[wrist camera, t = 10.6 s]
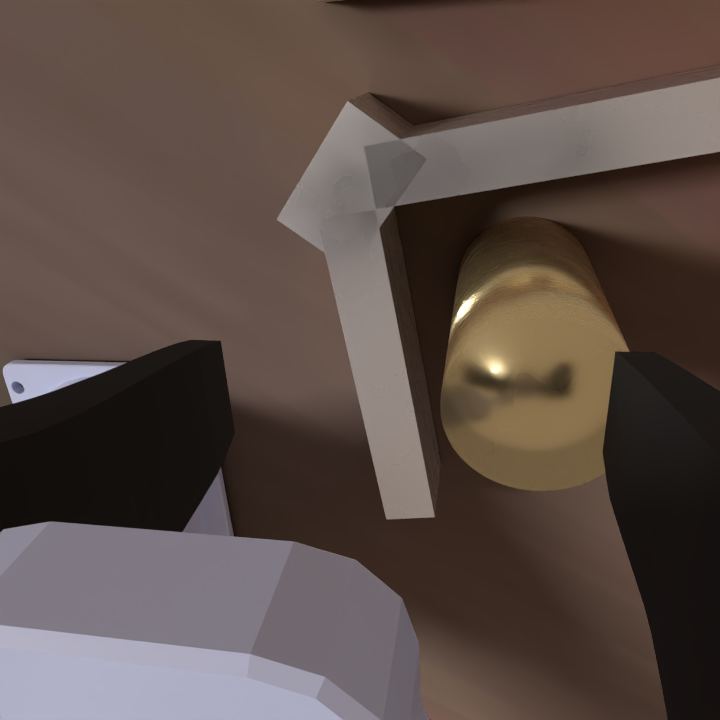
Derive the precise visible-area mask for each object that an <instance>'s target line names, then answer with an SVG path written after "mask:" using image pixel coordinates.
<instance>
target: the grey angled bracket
mask: <svg viewBox="0 0 720 720" xmlns="http://www.w3.org/2000/svg"><path fill="white" fill-rule="evenodd" d="M715 152H720V65H717V66H712V67H707V68H702V69H697V70H692V71H687V72H682V73H677V74H672V75H666V76H661V77H656V78H651V79H646V80H641V81H636V82H631V83H626V84H621V85H616V86H611V87H606V88H601V89H595V90H590V91H585V92H580V93H575V94H570V95H565V96H560V97H555V98H550V99H545V100H540V101H535V102H529V103H524V104H519V105H514V106H509V107H504V108H499V109H494V110H489V111H484V112H479V113H474V114H469V115H464V116H458V117H453V118H448V119H443V120H438V121H433V122H428V123H423V124H418V125H412V124H410V123H409V122H408V121H406V120H405V119H404V118H402V117H401V116H400V115H398V114H397V113H395V112H394V111H393V110H391V109H390V108H389V107H387V106H386V105H385V104H383V103H382V102H380V101H379V100H378V99H376V98H375V97H374V96H372V95H371V94H370V93H366V94H363V95H361V96H358V97H356V98H354V99H351V100H349V101H347V103H346V104H345V106H344V108H343V109H342V111H341V113H340V114H339V116H338V118H337V119H336V121H335V123H334V125H333V126H332V128H331V130H330V131H329V133H328V135H327V136H326V138H325V140H324V141H323V143H322V145H321V146H320V148H319V150H318V151H317V153H316V155H315V156H314V158H313V160H312V161H311V163H310V165H309V166H308V168H307V170H306V171H305V173H304V175H303V176H302V178H301V180H300V181H299V183H298V185H297V186H296V188H295V190H294V191H293V193H292V195H291V196H290V198H289V200H288V201H287V203H286V205H285V206H284V208H283V210H282V211H281V213H280V215H279V216H278V218H277V220H278V221H280V222H281V223H282V224H284V225H285V226H287V227H288V228H290V229H291V230H292V231H294V232H295V233H297V234H298V235H300V236H301V237H303V238H304V239H305V240H307V241H308V242H310V243H311V244H313V245H314V246H315V247H317V248H318V249H320V250H321V251H323V252H324V253H325V255H326V259H327V264H328V268H329V272H330V277H331V281H332V285H333V290H334V294H335V298H336V303H337V307H338V312H339V316H340V320H341V325H342V329H343V333H344V338H345V342H346V346H347V351H348V355H349V359H350V364H351V368H352V372H353V377H354V381H355V386H356V390H357V394H358V399H359V403H360V407H361V412H362V416H363V420H364V425H365V429H366V433H367V438H368V442H369V446H370V451H371V455H372V459H373V464H374V468H375V473H376V477H377V481H378V486H379V490H380V494H381V499H382V503H383V507H384V512H385V516H386V519H407V518H428V517H435V511H436V503H437V495H438V487H439V478H440V470H441V460H440V454H439V449H438V443H437V438H436V432H435V427H434V421H433V416H432V410H431V404H430V399H429V393H428V388H427V382H426V377H425V371H424V366H423V360H422V355H421V349H420V344H419V338H418V333H417V327H416V321H415V316H414V310H413V305H412V299H411V294H410V288H409V283H408V277H407V272H406V266H405V261H404V255H403V250H402V244H401V239H400V233H399V227H398V222H397V216H396V211H395V206H399V205H405V204H411V203H416V202H422V201H428V200H434V199H440V198H446V197H452V196H458V195H464V194H470V193H476V192H482V191H488V190H494V189H500V188H506V187H512V186H518V185H524V184H530V183H536V182H542V181H548V180H554V179H560V178H566V177H572V176H578V175H584V174H590V173H596V172H602V171H607V170H613V169H619V168H625V167H631V166H637V165H643V164H649V163H655V162H661V161H667V160H673V159H679V158H685V157H691V156H697V155H703V154H709V153H715Z"/></svg>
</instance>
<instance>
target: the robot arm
mask: <svg viewBox="0 0 720 720" xmlns="http://www.w3.org/2000/svg"><path fill="white" fill-rule="evenodd" d="M3 376H4V379H5V382H6V385H7V388H8V391H9V394H10V397H11V400H12V403H13V404H10V405H7V406H3V407H0V720H431V719H429V718H428V716H427V715H426V713H425V712H424V708H423V703H422V698H421V693H420V664H419V642H418V639H417V637H416V634H415V631H414V629H413V626H412V623H411V621H410V618H409V615H408V613H407V610H406V607H405V605H404V602H403V599H402V598H401V597H400V596H399V595H398V594H397V593H395V592H394V591H393V590H392V589H391V588H389V587H388V586H387V585H386V584H385V583H383V582H382V581H381V580H380V579H378V578H377V577H376V576H375V575H374V574H372V573H371V572H370V571H369V570H368V569H366V568H365V567H364V566H363V565H362V564H360V563H359V562H358V561H357V560H355V559H352V558H348V557H345V556H342V555H338V554H335V553H331V552H328V551H325V550H321V549H318V548H314V547H311V546H308V545H304V544H301V543H297V542H293V541H281V540H269V539H257V538H245V537H234V535H233V529H232V524H231V519H230V513H229V508H228V502H227V497H226V491H225V486H224V481H223V475H222V470H221V465H222V463H223V461H224V458H225V456H226V454H227V451H228V448H229V446H230V443H231V441H232V438H233V435H234V433H235V432H234V425H233V419H232V412H231V405H230V399H229V392H228V386H227V379H226V373H225V366H224V360H223V353H222V347H221V341H207V340H189V341H184V342H180V343H177V344H174V345H171V346H168V347H165V348H162V349H160V350H157V351H154V352H152V353H149V354H147V355H144V356H142V357H139V358H137V359H134V360H132V361H130V362H82V361H38V360H14V361H11V362H10V363H8V364H7V365H6V366H4V368H3ZM18 382H19V383H21V384H22V385H23V387H24V388H22V387H21V386H20V385H19V383H18ZM603 459H604V466H605V472H606V479H607V485H608V491H609V496H610V501H611V504H612V507H613V510H614V514H615V517H616V520H617V523H618V526H619V529H620V533H621V536H622V539H623V542H624V545H625V548H626V551H627V554H628V557H629V560H630V563H631V566H632V570H633V573H634V576H635V579H636V582H637V585H638V588H639V591H640V594H641V597H642V600H643V603H644V607H645V611H646V614H647V618H648V622H649V625H650V629H651V634H652V639H653V644H654V649H655V654H656V659H657V664H658V669H659V674H660V679H661V684H662V689H663V695H664V701H665V706H666V712H667V717H668V720H720V391H719V390H717V389H715V388H714V387H712V386H710V385H709V384H707V383H706V382H704V381H702V380H701V379H699V378H697V377H696V376H694V375H693V374H691V373H689V372H688V371H686V370H685V369H683V368H681V367H680V366H678V365H676V364H675V363H673V362H671V361H670V360H668V359H666V358H664V357H662V356H660V355H658V354H656V353H653V352H619V351H615V358H614V366H613V374H612V381H611V389H610V397H609V405H608V413H607V421H606V428H605V436H604V444H603Z"/></svg>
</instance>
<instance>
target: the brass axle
mask: <svg viewBox="0 0 720 720" xmlns="http://www.w3.org/2000/svg"><path fill="white" fill-rule="evenodd" d="M615 351H619V352H630V351H629V349H628V347H627V344H626V342H625V340H624V338H623V335H622V333H621V331H620V328H619V326H618V324H617V322H616V319H615V317H614V315H613V313H612V310H611V308H610V306H609V303H608V301H607V299H606V297H605V294H604V292H603V290H602V288H601V285H600V283H599V281H598V279H597V276H596V274H595V272H594V269H593V267H592V265H591V263H590V260H589V258H588V256H587V254H586V251H585V249H584V247H583V246H582V244H581V243H580V241H579V240H578V239H577V238H576V237H575V236H574V235H573V234H572V233H571V232H570V231H569V230H567V229H566V228H564V227H563V226H561V225H559V224H557V223H555V222H553V221H550V220H547V219H543V218H537V217H517V218H512V219H508V220H505V221H502V222H499V223H497V224H495V225H493V226H491V227H490V228H488V229H487V230H485V231H484V232H482V233H481V234H480V235H479V236H478V237H477V238H476V239H475V240H474V241H473V242H472V243H471V245H470V246H469V248H468V249H467V251H466V253H465V255H464V256H463V259H462V262H461V264H460V268H459V273H458V280H457V287H456V294H455V301H454V308H453V315H452V322H451V328H450V335H449V342H448V349H447V356H446V363H445V370H444V377H443V384H442V391H441V400H440V411H441V419H442V424H443V428H444V430H445V433H446V435H447V438H448V440H449V441H450V443H451V445H452V447H453V448H454V450H455V451H456V452H457V453H458V455H459V456H460V457H461V458H462V459H463V460H464V461H465V462H466V463H467V464H468V465H469V466H470V467H472V468H473V469H474V470H475V471H477V472H478V473H480V474H481V475H483V476H485V477H486V478H488V479H490V480H493V481H495V482H497V483H499V484H503V485H506V486H509V487H512V488H517V489H522V490H530V491H553V490H561V489H566V488H571V487H575V486H578V485H581V484H584V483H586V482H588V481H591V480H593V479H595V478H597V477H599V476H600V475H602V474H604V473H605V466H604V459H603V444H604V436H605V428H606V421H607V413H608V405H609V397H610V389H611V381H612V374H613V366H614V358H615Z"/></svg>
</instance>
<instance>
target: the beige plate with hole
mask: <svg viewBox="0 0 720 720" xmlns="http://www.w3.org/2000/svg"><path fill="white" fill-rule="evenodd" d="M316 1H321V2H331V1H343V0H316Z"/></svg>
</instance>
